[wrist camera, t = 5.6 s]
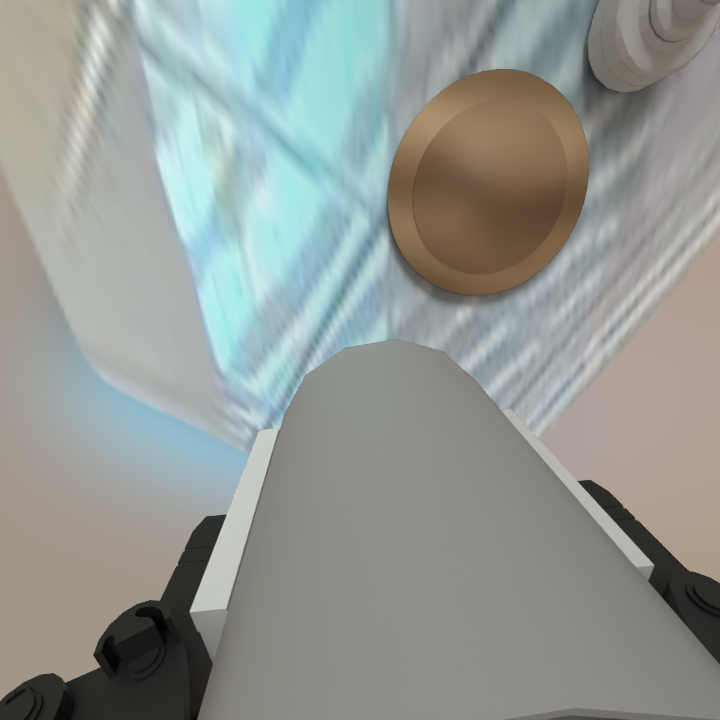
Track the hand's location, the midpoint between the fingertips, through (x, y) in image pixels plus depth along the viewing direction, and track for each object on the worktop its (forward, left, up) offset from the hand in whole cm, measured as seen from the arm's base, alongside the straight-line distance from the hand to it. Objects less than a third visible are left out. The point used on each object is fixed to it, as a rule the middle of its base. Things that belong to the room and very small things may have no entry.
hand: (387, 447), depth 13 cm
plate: (-10, +8, -11) cm, 17 cm away
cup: (0, 0, -1) cm, 1 cm away
